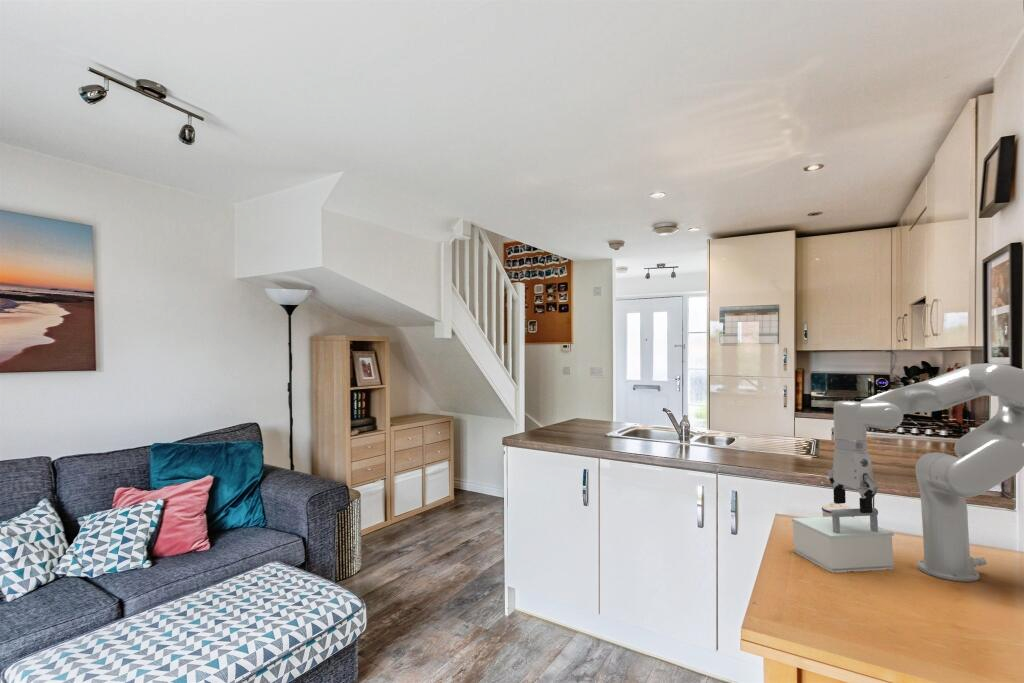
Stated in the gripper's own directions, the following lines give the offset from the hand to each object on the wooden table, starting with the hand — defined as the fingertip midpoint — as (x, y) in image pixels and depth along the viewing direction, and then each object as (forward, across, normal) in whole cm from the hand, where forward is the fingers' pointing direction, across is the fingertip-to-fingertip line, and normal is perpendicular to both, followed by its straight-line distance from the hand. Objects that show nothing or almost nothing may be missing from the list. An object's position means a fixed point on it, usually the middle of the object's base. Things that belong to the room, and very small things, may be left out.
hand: (852, 507), depth 142 cm
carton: (+16, +6, -1) cm, 17 cm away
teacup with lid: (+16, +26, -16) cm, 34 cm away
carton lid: (+7, +6, -1) cm, 9 cm away
